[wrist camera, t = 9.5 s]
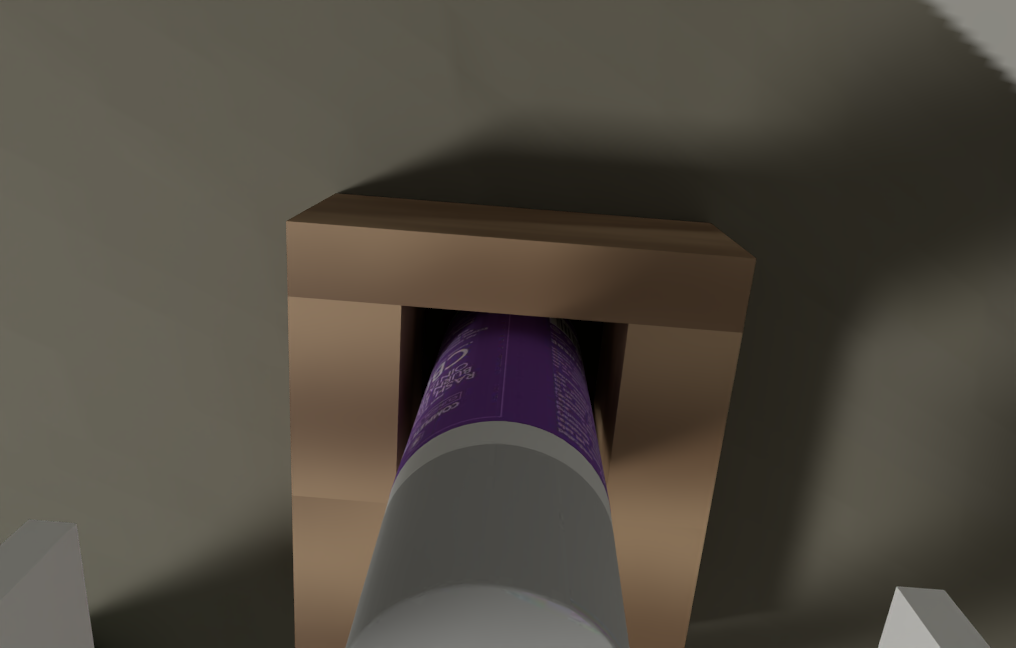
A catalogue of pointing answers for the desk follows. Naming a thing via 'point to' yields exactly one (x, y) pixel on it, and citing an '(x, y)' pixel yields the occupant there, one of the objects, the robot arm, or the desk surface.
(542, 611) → the container
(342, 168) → the desk surface
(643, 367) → the socket block
